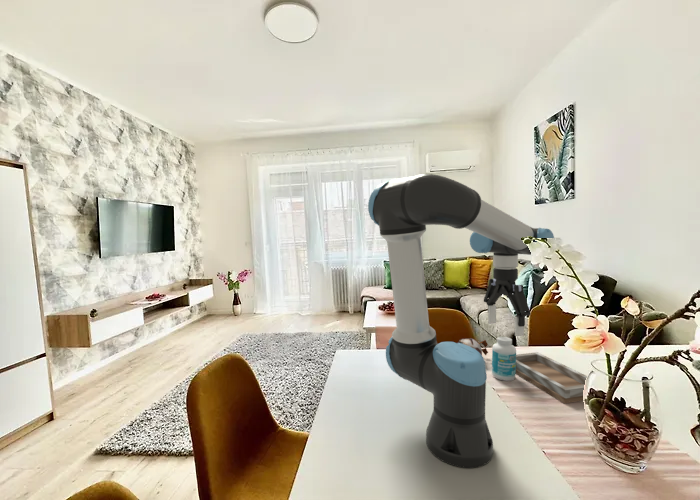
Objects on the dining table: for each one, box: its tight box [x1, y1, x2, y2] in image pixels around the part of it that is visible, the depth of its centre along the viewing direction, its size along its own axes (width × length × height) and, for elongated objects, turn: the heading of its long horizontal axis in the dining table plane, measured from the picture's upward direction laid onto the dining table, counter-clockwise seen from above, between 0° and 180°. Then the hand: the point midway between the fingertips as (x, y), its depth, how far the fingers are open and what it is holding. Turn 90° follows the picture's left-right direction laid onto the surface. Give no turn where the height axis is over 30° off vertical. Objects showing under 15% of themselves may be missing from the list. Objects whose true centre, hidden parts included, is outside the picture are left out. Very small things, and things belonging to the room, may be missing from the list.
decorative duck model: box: [457, 337, 489, 356], centre depth 127 cm, size 15×8×15 cm
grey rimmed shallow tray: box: [515, 351, 588, 404], centre depth 109 cm, size 26×15×4 cm, turn 12°
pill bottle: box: [491, 336, 517, 382], centre depth 112 cm, size 8×7×14 cm
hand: (504, 329), depth 111 cm, fingers open, 13 cm apart
